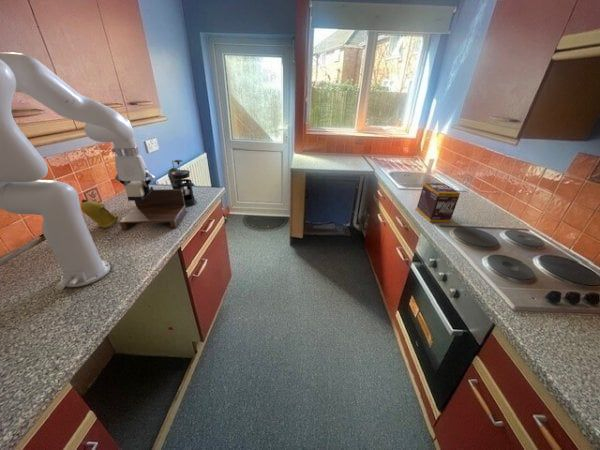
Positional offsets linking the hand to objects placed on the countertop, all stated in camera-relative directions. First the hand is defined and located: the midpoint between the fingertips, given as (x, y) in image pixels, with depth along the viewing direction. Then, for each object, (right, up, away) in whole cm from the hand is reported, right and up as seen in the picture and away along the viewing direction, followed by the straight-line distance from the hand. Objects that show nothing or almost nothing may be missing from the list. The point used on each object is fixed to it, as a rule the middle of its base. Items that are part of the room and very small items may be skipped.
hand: (140, 194), depth 107 cm
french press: (+8, -2, +26) cm, 27 cm away
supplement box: (+138, -9, +22) cm, 140 cm away
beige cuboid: (0, 0, +1) cm, 1 cm away
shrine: (-16, -14, +2) cm, 21 cm away
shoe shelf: (+2, -11, +9) cm, 14 cm away
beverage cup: (-1, +4, +37) cm, 37 cm away
